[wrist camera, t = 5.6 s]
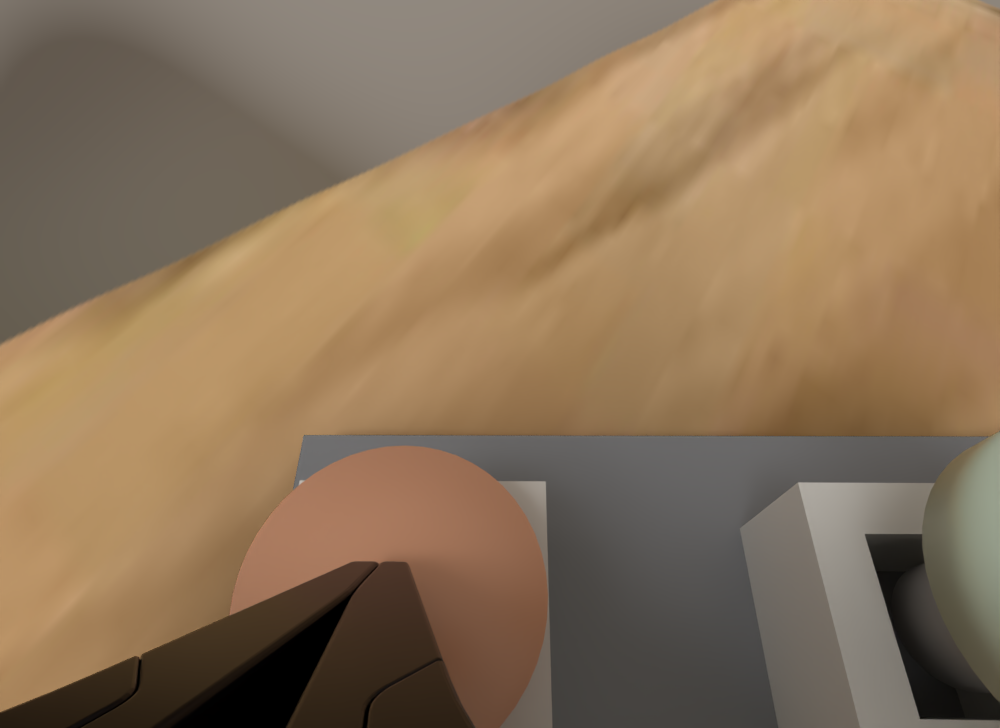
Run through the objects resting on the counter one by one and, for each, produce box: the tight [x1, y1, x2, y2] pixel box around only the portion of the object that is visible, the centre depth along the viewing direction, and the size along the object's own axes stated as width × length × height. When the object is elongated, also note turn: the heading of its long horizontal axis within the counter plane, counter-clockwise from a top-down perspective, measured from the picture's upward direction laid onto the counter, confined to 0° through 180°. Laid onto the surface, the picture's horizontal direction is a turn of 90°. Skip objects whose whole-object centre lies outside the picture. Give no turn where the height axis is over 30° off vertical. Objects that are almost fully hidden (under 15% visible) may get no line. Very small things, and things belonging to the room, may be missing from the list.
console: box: [293, 435, 1000, 728], centre depth 12 cm, size 10×28×5 cm, turn 89°
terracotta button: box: [229, 446, 548, 728], centre depth 11 cm, size 5×5×5 cm
